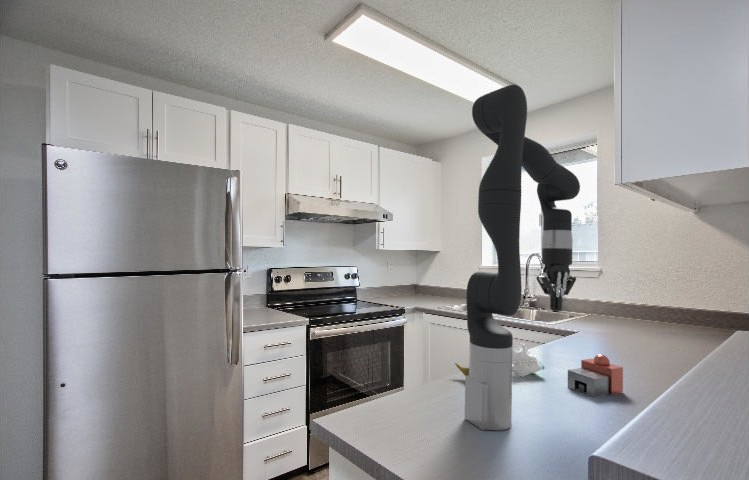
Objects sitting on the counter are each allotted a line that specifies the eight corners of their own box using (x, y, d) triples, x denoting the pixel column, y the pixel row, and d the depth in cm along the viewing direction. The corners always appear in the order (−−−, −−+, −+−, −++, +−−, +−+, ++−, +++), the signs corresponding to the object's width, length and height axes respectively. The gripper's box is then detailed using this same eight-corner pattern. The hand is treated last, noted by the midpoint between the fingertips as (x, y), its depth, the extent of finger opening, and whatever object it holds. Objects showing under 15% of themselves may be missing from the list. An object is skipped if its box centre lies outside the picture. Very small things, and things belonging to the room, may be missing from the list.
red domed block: (597, 398, 98) (597, 361, 98) (567, 386, 106) (567, 353, 106) (622, 392, 102) (622, 358, 103) (592, 382, 111) (592, 350, 111)
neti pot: (497, 392, 100) (497, 367, 101) (450, 377, 111) (451, 355, 111) (504, 388, 103) (505, 364, 104) (458, 374, 114) (459, 353, 114)
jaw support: (540, 372, 108) (515, 344, 113) (517, 390, 111) (494, 362, 116) (550, 363, 118) (527, 338, 122) (529, 380, 121) (507, 355, 126)
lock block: (594, 397, 98) (594, 378, 98) (567, 387, 106) (567, 369, 106) (608, 394, 101) (608, 376, 101) (581, 384, 108) (581, 367, 108)
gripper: (551, 246, 95) (550, 313, 94) (586, 248, 100) (585, 312, 100) (528, 246, 102) (527, 309, 101) (562, 248, 107) (561, 308, 107)
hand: (556, 310), depth 101 cm, fingers closed
